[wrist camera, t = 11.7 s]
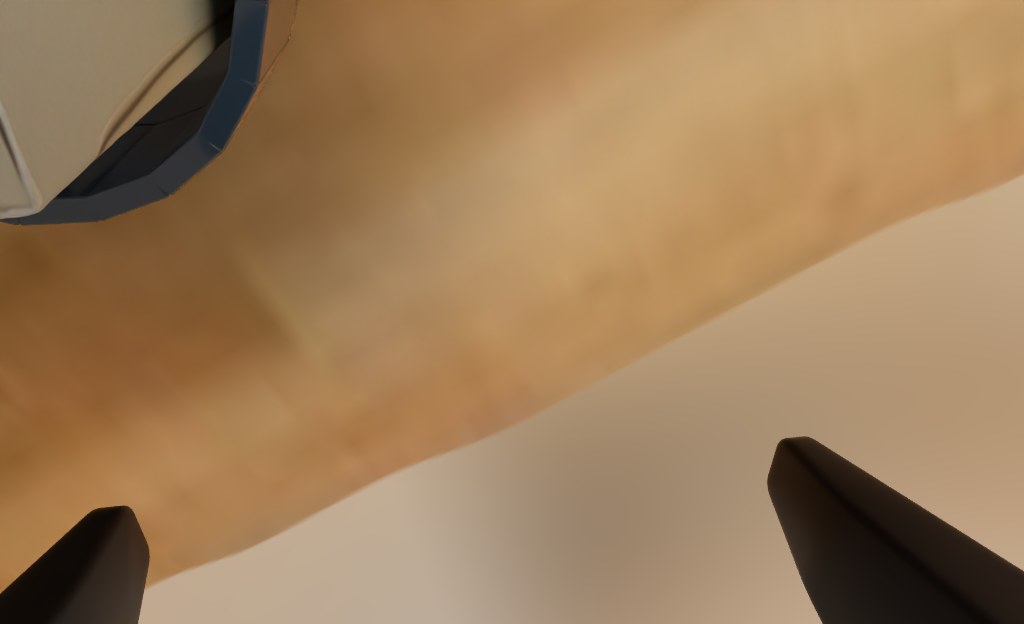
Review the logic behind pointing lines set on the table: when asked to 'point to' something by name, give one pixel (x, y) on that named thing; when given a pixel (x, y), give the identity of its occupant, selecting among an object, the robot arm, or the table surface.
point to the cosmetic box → (88, 81)
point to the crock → (180, 124)
